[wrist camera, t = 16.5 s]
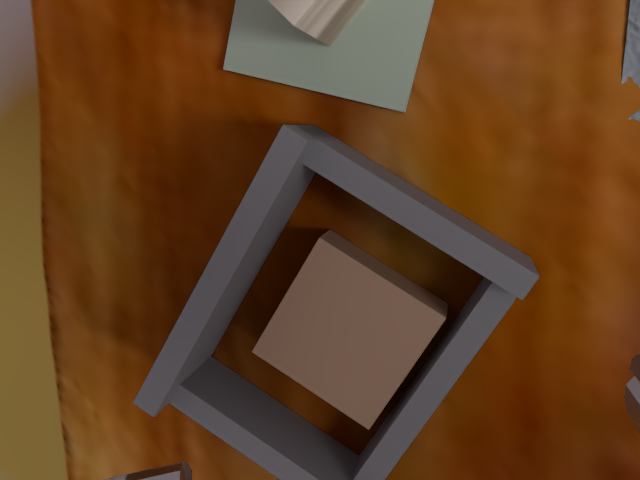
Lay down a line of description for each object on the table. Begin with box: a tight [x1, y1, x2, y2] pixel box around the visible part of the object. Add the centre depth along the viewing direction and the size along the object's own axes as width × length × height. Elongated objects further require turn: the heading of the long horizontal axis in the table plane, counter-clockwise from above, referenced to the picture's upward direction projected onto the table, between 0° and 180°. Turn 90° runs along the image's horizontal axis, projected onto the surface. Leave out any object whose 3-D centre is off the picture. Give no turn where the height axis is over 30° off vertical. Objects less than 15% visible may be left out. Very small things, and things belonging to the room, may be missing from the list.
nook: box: [133, 125, 540, 480], centre depth 37 cm, size 16×20×7 cm
